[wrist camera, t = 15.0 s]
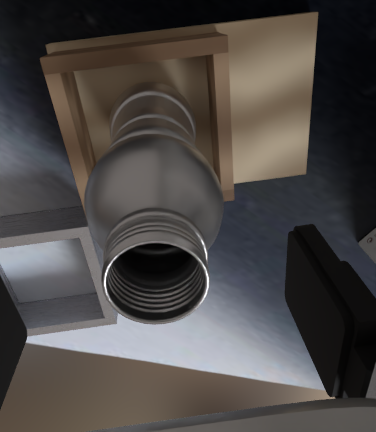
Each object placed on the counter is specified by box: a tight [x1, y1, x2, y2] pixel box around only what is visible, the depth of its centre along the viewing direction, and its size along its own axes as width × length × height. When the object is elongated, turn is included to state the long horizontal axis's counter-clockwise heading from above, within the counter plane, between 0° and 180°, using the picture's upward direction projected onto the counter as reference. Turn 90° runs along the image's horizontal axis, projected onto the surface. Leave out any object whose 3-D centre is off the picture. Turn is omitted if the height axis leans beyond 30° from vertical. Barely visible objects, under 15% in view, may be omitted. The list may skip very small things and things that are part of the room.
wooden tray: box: [40, 12, 318, 219], centre depth 28 cm, size 13×20×6 cm, turn 96°
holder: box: [0, 206, 118, 336], centre depth 35 cm, size 12×12×4 cm
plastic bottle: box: [84, 82, 224, 324], centre depth 20 cm, size 6×7×20 cm
